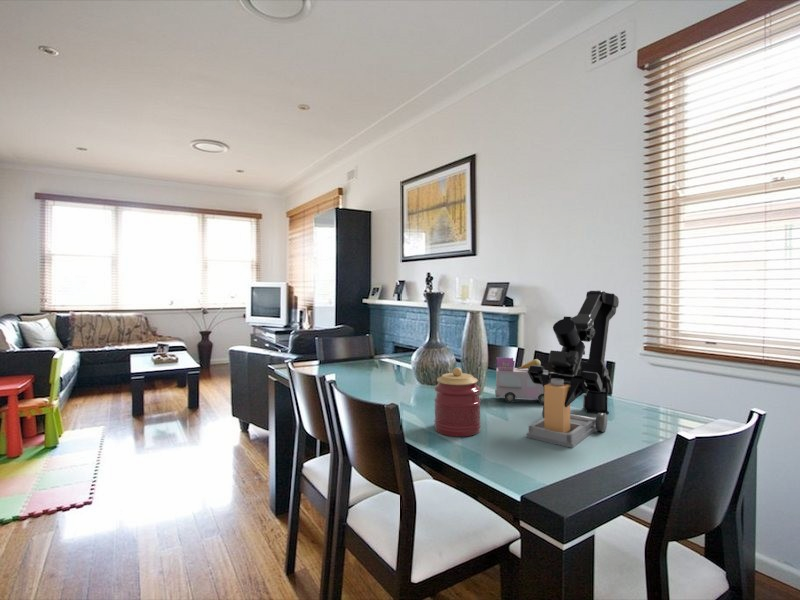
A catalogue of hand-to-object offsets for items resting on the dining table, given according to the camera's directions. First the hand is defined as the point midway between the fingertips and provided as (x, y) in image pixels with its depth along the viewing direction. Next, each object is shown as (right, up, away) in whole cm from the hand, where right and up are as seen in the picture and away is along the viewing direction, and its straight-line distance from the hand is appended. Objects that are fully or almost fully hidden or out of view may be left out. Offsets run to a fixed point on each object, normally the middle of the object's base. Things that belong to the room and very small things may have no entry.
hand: (555, 404), depth 113 cm
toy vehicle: (+3, -8, +38) cm, 39 cm away
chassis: (+4, -9, +5) cm, 11 cm away
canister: (-25, -9, +8) cm, 27 cm away
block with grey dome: (+1, -7, +1) cm, 7 cm away
